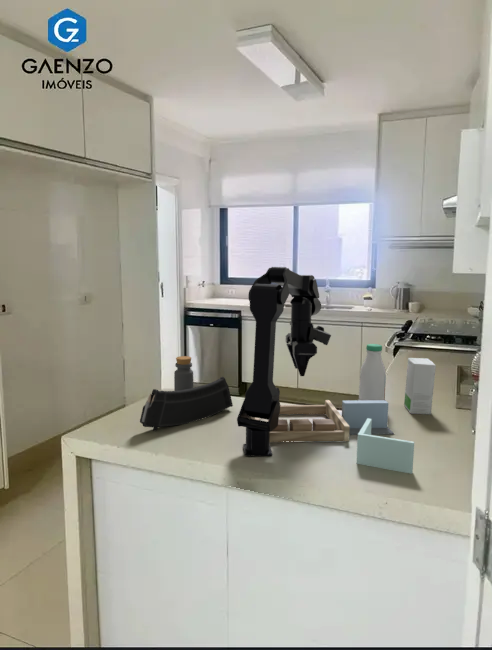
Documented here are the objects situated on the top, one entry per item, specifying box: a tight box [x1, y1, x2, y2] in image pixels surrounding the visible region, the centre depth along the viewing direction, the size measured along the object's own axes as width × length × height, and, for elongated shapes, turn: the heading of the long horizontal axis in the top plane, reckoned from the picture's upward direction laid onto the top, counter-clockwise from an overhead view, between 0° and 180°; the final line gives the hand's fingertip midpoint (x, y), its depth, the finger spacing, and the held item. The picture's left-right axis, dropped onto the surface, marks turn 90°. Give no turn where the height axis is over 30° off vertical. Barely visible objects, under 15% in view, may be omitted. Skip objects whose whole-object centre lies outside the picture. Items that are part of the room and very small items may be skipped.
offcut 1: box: [267, 418, 289, 431], centre depth 125 cm, size 4×5×4 cm
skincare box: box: [403, 357, 437, 415], centre depth 147 cm, size 8×7×16 cm
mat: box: [349, 426, 395, 436], centre depth 132 cm, size 10×13×1 cm
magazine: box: [139, 376, 234, 432], centre depth 136 cm, size 17×3×30 cm
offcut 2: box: [288, 418, 313, 431], centre depth 125 cm, size 4×5×4 cm
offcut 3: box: [312, 418, 336, 431], centre depth 125 cm, size 4×5×4 cm
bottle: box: [173, 355, 194, 391], centre depth 150 cm, size 6×6×15 cm
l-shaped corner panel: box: [356, 418, 415, 475], centre depth 112 cm, size 12×12×8 cm
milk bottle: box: [358, 343, 387, 400], centre depth 148 cm, size 8×8×20 cm
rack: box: [251, 399, 350, 443], centre depth 132 cm, size 22×23×4 cm
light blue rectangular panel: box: [341, 399, 389, 428], centre depth 131 cm, size 2×12×7 cm, turn 93°
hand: (299, 372), depth 140 cm, fingers open, 9 cm apart
